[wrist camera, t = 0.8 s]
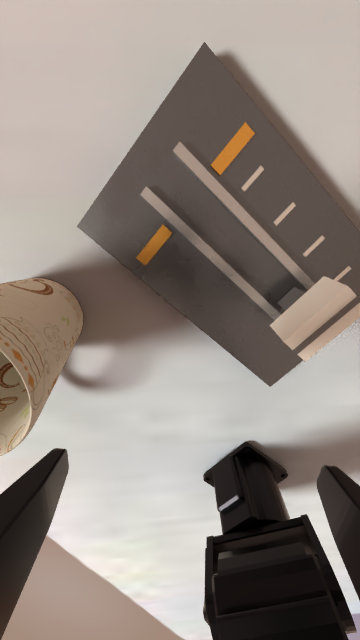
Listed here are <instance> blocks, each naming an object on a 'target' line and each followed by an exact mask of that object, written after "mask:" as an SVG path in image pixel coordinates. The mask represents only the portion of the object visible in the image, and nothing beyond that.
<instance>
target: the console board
mask: <svg viewBox="0 0 360 640" xmlns="http://www.w3.org/2000/svg"><path fill="white" fill-rule="evenodd" d="M77 227H78V228H79V229H81V230H82V231H83V232H84V233H85V234H87V235H88V236H89V237H90V238H91V239H93V240H94V241H95V242H96V243H97V244H99V245H100V246H101V247H102V248H103V249H105V250H106V251H107V252H108V253H109V254H111V255H112V256H113V257H114V258H116V259H117V260H118V261H119V262H120V263H122V264H123V265H124V266H125V267H126V268H128V269H129V270H130V271H131V272H132V273H134V274H135V275H136V276H137V277H138V278H140V279H141V280H142V281H143V282H144V283H146V284H147V285H148V286H149V287H150V288H152V289H153V290H154V291H155V292H157V293H158V294H159V295H160V296H161V297H163V298H164V299H165V300H166V301H167V302H169V303H170V304H171V305H172V306H173V307H175V308H176V309H177V310H178V311H179V312H181V313H182V314H183V315H184V316H185V317H187V318H188V319H189V320H190V321H191V322H193V323H194V324H195V325H196V326H198V327H199V328H200V329H201V330H202V331H204V332H205V333H206V334H207V335H208V336H210V337H211V338H212V339H213V340H214V341H216V342H217V343H218V344H219V345H220V346H222V347H223V348H224V349H225V350H226V351H228V352H229V353H230V354H231V355H232V356H234V357H235V358H236V359H237V360H239V361H240V362H241V363H242V364H243V365H245V366H246V367H247V368H248V369H249V370H251V371H252V372H253V373H254V374H255V375H257V376H258V377H259V378H260V379H261V380H263V381H264V382H265V383H266V384H267V385H269V386H270V387H271V386H272V385H273V384H274V383H276V382H277V381H278V380H279V379H280V378H282V377H283V376H284V375H285V374H287V373H288V372H289V371H290V370H291V369H293V368H294V367H295V366H296V365H298V364H299V363H300V362H301V361H302V360H303V359H302V358H301V357H300V356H298V355H296V354H295V353H294V352H293V351H292V349H291V348H290V347H289V346H287V345H286V344H285V343H284V342H283V341H282V340H281V338H280V337H279V336H278V335H277V334H276V332H275V331H274V330H273V329H272V328H271V326H270V325H271V324H272V323H273V322H274V321H275V320H276V319H277V318H278V317H279V316H281V315H282V314H283V313H284V312H285V310H284V309H283V308H282V307H281V306H280V305H279V304H278V303H277V302H278V301H280V300H281V299H282V298H283V297H284V296H285V295H286V294H287V293H288V292H289V291H290V290H291V289H292V288H294V287H296V288H298V289H299V290H301V291H303V292H304V293H306V292H307V291H308V290H309V289H310V288H311V287H312V286H314V285H315V284H316V283H317V282H318V281H319V280H320V279H321V278H322V277H324V276H325V277H327V278H330V279H332V280H335V281H337V282H340V283H342V284H345V285H347V286H348V287H349V288H350V289H351V290H352V291H353V292H354V293H355V294H356V295H358V296H360V232H359V230H358V229H357V228H356V227H355V225H354V224H353V223H352V222H351V221H350V219H349V218H348V217H347V216H346V214H345V213H344V212H343V211H342V210H341V208H340V207H339V206H338V205H337V203H336V202H335V201H334V200H333V199H332V197H331V196H330V195H329V194H328V192H327V191H326V190H325V189H324V188H323V186H322V185H321V184H320V183H319V181H318V180H317V179H316V178H315V177H314V175H313V174H312V173H311V172H310V170H309V169H308V168H307V167H306V166H305V164H304V163H303V162H302V161H301V159H300V158H299V157H298V156H297V155H296V153H295V152H294V151H293V150H292V148H291V147H290V146H289V145H288V144H287V142H286V141H285V140H284V139H283V137H282V136H281V135H280V134H279V133H278V131H277V130H276V129H275V128H274V126H273V125H272V124H271V123H270V122H269V120H268V119H267V118H266V117H265V115H264V114H263V113H262V112H261V111H260V109H259V108H258V107H257V106H256V104H255V103H254V102H253V101H252V100H251V98H250V97H249V96H248V95H247V93H246V92H245V91H244V90H243V89H242V87H241V86H240V85H239V84H238V82H237V81H236V80H235V79H234V78H233V76H232V75H231V74H230V73H229V71H228V70H227V69H226V68H225V67H224V65H223V64H222V63H221V62H220V60H219V59H218V58H217V57H216V56H215V54H214V53H213V52H212V51H211V49H210V48H209V47H208V46H207V45H206V43H205V42H204V43H203V45H202V46H201V48H200V49H199V51H198V52H197V53H196V55H195V56H194V58H193V59H192V61H191V62H190V64H189V65H188V66H187V68H186V69H185V71H184V72H183V74H182V75H181V77H180V78H179V80H178V81H177V82H176V84H175V85H174V87H173V88H172V90H171V91H170V93H169V94H168V95H167V97H166V98H165V100H164V101H163V103H162V104H161V106H160V107H159V108H158V110H157V111H156V113H155V114H154V116H153V117H152V119H151V120H150V122H149V123H148V124H147V126H146V127H145V129H144V130H143V132H142V133H141V135H140V136H139V137H138V139H137V140H136V142H135V143H134V145H133V146H132V148H131V149H130V150H129V152H128V153H127V155H126V156H125V158H124V159H123V161H122V162H121V164H120V165H119V166H118V168H117V169H116V171H115V172H114V174H113V175H112V177H111V178H110V179H109V181H108V182H107V184H106V185H105V187H104V188H103V190H102V191H101V192H100V194H99V195H98V197H97V198H96V200H95V201H94V203H93V204H92V206H91V207H90V208H89V210H88V211H87V213H86V214H85V216H84V217H83V219H82V220H81V221H80V223H79V224H78V226H77Z"/></svg>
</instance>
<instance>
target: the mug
mask: <svg viewBox="0 0 360 640" xmlns="http://www.w3.org/2000/svg"><path fill="white" fill-rule="evenodd" d="M82 327H83V313H82V310H81V307H80V305H79V303H78V301H77V299H76V298H75V297H74V295H73V294H72V293H71V292H70V291H69V290H68V289H66V288H65V287H64V286H62V285H60V284H58V283H56V282H54V281H51V280H48V279H42V278H32V279H25V280H19V281H13V282H7V283H2V284H0V456H1V455H4V454H6V453H8V452H9V451H11V450H12V449H14V448H15V447H16V446H18V445H19V444H20V443H21V442H22V441H23V440H24V439H25V437H26V436H27V435H28V434H29V432H30V431H31V429H32V427H33V426H34V424H35V422H36V421H37V419H38V417H39V415H40V413H41V411H42V409H43V407H44V405H45V403H46V401H47V399H48V397H49V395H50V393H51V391H52V389H53V387H54V385H55V383H56V381H57V379H58V377H59V375H60V373H61V371H62V369H63V367H64V365H65V363H66V361H67V359H68V357H69V355H70V353H71V351H72V349H73V347H74V345H75V343H76V341H77V339H78V337H79V335H80V333H81V330H82Z"/></svg>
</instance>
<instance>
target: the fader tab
mask: <svg viewBox="0 0 360 640" xmlns="http://www.w3.org/2000/svg"><path fill="white" fill-rule="evenodd" d="M277 303H278V304H279V305H280V306H281V307H282V308H283V309H284V310H285V312H284V313H283V314H282V315H281V316H279V317H278V318H277V319H276V320H275V321H274V322H273V323H272V324H271V325H270V326H271V328H272V329H273V330H274V331H275V332H276V334H277V335H278V336H279V337H280V338H281V340H282V341H283V342H284V343H285V344H286V345H287V346H289V347H290V348H291V349H292V351H293V352H294V353H295V354H296V355H298V356H300V357H301V358H302V359H303V360H304V361H306V360H308V359H309V358H310V357H311V356H313V355H314V354H315V353H316V352H317V351H319V350H320V349H321V348H322V347H324V346H325V345H326V344H327V343H329V342H330V341H331V340H332V339H333V338H335V337H336V336H337V335H338V334H340V333H341V332H342V331H343V330H345V329H346V328H347V327H348V326H349V325H351V324H352V323H353V322H354V321H356V320H357V319H358V318H359V317H360V296H358V295H356V294H355V293H354V292H353V291H352V290H351V289H350V288H349V287H348V286H347V285H345V284H342V283H340V282H337V281H335V280H332V279H330V278H327V277H325V276H324V277H322V278H321V279H320V280H319V281H318V282H317V283H316V284H315V285H314V286H312V287H311V288H310V289H309V290H308V291H307V292H306V293H304V292H303V291H301V290H299V289H298V288H296V287H294V288H292V289H291V290H290V291H289V292H288V293H287V294H286V295H285V296H284V297H283V298H282V299H281V300H280V301H278V302H277Z"/></svg>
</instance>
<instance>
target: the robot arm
mask: <svg viewBox="0 0 360 640" xmlns="http://www.w3.org/2000/svg"><path fill="white" fill-rule="evenodd" d="M246 448H247V449H246ZM68 469H69V464H68V454H67V450H66V449H59V448H55V449H53V450H52V451H50V452H49V453H48V454H47V455H46V456H45V457H43V458H42V459H41V460H40V461H39V462H38V463H36V464H35V465H34V466H33V467H32V468H31V469H30V470H28V471H27V472H26V473H25V474H24V475H23V476H21V477H20V478H19V479H18V480H17V481H16V482H14V483H13V484H12V485H11V486H10V487H9V488H7V489H6V490H5V491H4V492H3V493H2V494H0V640H1V638H2V636H3V634H4V631H5V629H6V627H7V624H8V622H9V620H10V617H11V615H12V613H13V610H14V608H15V606H16V604H17V601H18V599H19V597H20V594H21V592H22V590H23V587H24V585H25V583H26V581H27V578H28V576H29V573H30V571H31V569H32V567H33V564H34V562H35V560H36V558H37V555H38V553H39V550H40V548H41V546H42V544H43V541H44V539H45V537H46V534H47V532H48V530H49V527H50V525H51V522H52V519H53V516H54V513H55V510H56V507H57V504H58V501H59V498H60V495H61V492H62V489H63V486H64V483H65V480H66V477H67V474H68ZM287 476H288V474H287V471H286V470H285V469H284V468H282V467H281V466H280V465H278V464H277V463H275V462H274V461H273V460H271V459H270V458H269V457H267V456H266V455H264V454H263V453H262V452H260V451H259V450H257V449H256V448H255V447H253V446H252V445H251V444H249V443H244V444H242V445H241V446H240V447H238V448H237V449H236V450H234V451H233V452H232V453H231V454H229V455H228V456H227V457H225V458H224V459H223V460H221V461H220V462H219V463H218V464H216V465H215V466H214V467H212V468H211V469H210V470H208V471H207V472H206V473H205V474H204V475H203V477H204V481H205V482H207V483H208V484H210V485H211V486H213V487H215V494H216V502H217V509H218V511H219V512H220V518H221V525H222V533H223V535H219V536H215V537H214V536H209V537H207V548H206V550H205V600H204V608H203V614H204V619H205V621H206V622H207V623H208V625H209V626H210V629H211V634H212V638H213V640H348V637H347V635H346V634H349V633H355V632H356V628H355V624H354V621H353V618H352V616H351V613H350V610H349V608H348V605H347V603H346V600H345V598H344V595H343V593H342V590H341V588H340V586H339V583H338V581H337V578H336V576H335V574H334V572H333V569H332V567H331V565H330V563H329V561H328V558H327V556H326V554H325V552H324V550H323V548H322V546H321V543H320V541H319V539H318V537H317V535H316V533H315V531H314V529H313V526H312V524H311V522H310V520H309V518H308V516H307V514H305V515H301V517H298V518H294V519H290V517H289V514H288V511H287V509H286V506H285V503H284V501H283V498H282V495H281V493H280V490H279V487H278V483H279V482H281V481H282V480H284V479H285V478H287ZM317 489H318V492H319V495H320V498H321V501H322V504H323V507H324V511H325V514H326V517H327V520H328V523H329V526H330V529H331V532H332V535H333V537H334V540H335V543H336V545H337V548H338V550H339V552H340V555H341V557H342V560H343V562H344V564H345V567H346V569H347V571H348V574H349V576H350V579H351V581H352V583H353V586H354V588H355V590H356V593H357V595H358V598H359V600H360V486H359V485H358V484H357V483H356V482H354V481H353V480H352V479H351V478H350V477H349V476H347V475H346V474H345V473H344V472H343V471H341V470H340V469H339V468H338V467H336V466H331V465H324V466H323V467H322V469H321V471H320V474H319V476H318V479H317Z"/></svg>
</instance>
